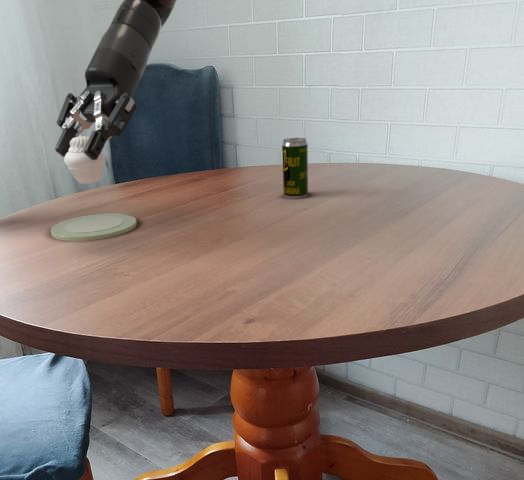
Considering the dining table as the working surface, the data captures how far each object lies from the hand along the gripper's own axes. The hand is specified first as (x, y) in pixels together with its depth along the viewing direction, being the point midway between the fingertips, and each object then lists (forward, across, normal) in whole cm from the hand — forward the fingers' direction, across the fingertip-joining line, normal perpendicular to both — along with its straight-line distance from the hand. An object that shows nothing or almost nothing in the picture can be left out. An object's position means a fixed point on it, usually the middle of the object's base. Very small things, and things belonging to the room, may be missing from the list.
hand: (75, 155), depth 82 cm
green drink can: (-22, +11, +45) cm, 52 cm away
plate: (+4, -12, +19) cm, 23 cm away
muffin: (+2, 0, +4) cm, 5 cm away
